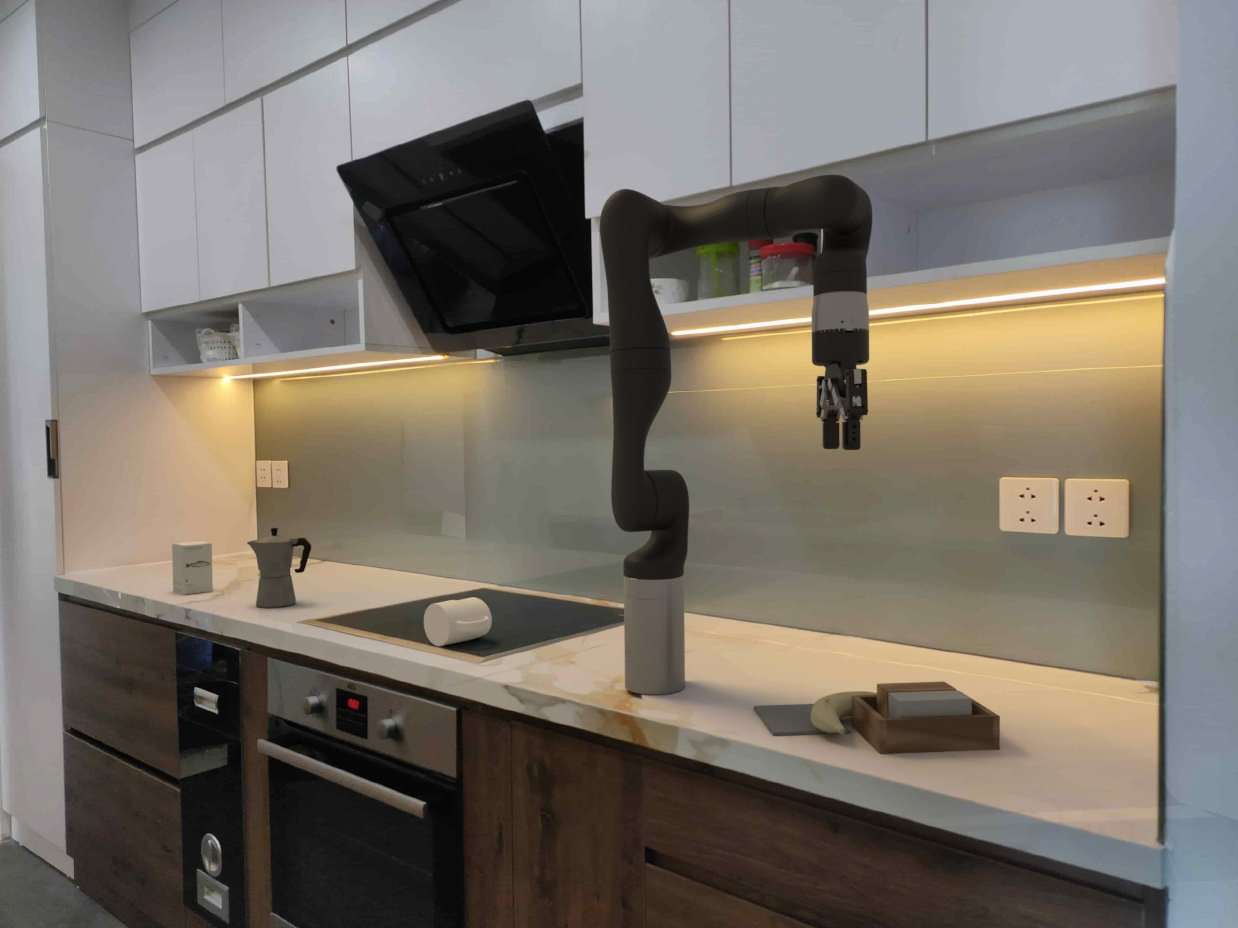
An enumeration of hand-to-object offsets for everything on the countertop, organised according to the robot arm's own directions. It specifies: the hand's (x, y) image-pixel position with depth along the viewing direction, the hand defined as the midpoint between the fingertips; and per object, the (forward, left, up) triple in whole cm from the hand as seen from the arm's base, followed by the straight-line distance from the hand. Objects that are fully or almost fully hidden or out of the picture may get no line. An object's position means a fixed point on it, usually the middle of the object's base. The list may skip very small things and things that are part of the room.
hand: (840, 449), depth 118 cm
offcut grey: (+12, +7, -36) cm, 39 cm away
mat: (+2, -6, -36) cm, 37 cm away
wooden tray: (+10, +7, -36) cm, 38 cm away
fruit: (+2, +7, -36) cm, 36 cm away
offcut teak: (+8, +7, -36) cm, 38 cm away
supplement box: (-113, -132, -36) cm, 177 cm away
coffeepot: (-93, -104, -36) cm, 144 cm away
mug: (-49, -57, -36) cm, 84 cm away
